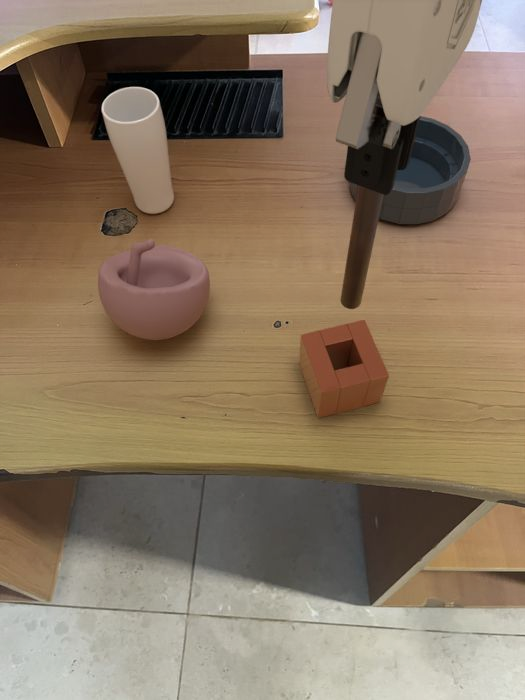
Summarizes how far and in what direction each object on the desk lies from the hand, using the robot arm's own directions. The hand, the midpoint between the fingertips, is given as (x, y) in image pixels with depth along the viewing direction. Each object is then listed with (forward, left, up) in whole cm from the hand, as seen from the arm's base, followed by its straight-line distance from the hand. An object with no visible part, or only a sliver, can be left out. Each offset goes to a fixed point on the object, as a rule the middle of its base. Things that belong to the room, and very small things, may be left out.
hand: (376, 171), depth 37 cm
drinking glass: (+15, -33, -30) cm, 47 cm away
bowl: (-18, -26, -29) cm, 43 cm away
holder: (0, 0, -29) cm, 29 cm away
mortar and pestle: (+17, -14, -30) cm, 37 cm away
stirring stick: (0, 0, -15) cm, 15 cm away
